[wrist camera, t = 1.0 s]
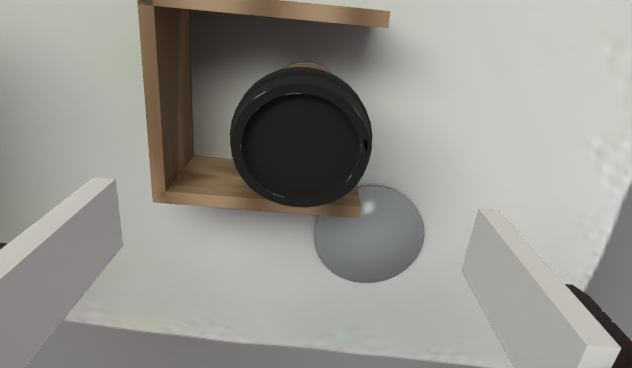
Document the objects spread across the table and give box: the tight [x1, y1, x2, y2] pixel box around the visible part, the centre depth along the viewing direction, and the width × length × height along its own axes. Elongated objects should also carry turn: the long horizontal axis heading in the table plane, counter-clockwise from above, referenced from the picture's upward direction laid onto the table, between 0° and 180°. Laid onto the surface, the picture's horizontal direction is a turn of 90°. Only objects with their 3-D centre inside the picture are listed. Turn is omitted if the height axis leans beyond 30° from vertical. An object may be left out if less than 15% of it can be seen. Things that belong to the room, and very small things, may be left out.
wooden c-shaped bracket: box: [137, 0, 390, 218], centre depth 33 cm, size 16×15×8 cm
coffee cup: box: [230, 62, 372, 208], centre depth 30 cm, size 8×8×15 cm
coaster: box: [315, 185, 424, 283], centre depth 42 cm, size 11×11×1 cm
